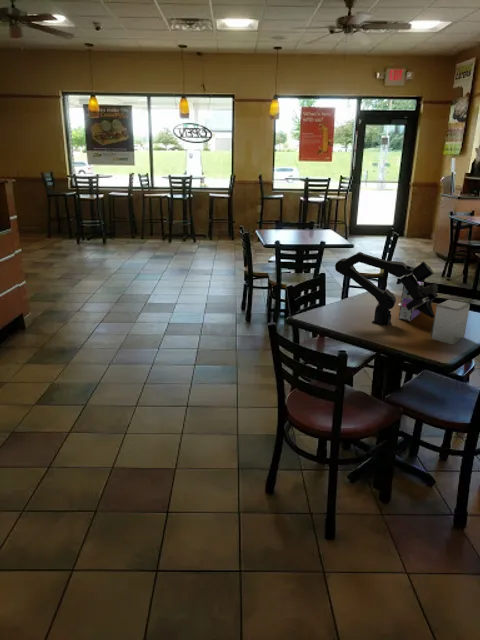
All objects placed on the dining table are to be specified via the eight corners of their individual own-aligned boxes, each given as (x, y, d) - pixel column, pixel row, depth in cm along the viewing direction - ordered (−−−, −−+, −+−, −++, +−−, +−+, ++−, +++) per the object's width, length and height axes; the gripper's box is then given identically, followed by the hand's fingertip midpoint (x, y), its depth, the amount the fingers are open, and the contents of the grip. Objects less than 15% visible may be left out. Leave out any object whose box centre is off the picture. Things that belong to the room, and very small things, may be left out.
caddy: (431, 338, 202) (437, 304, 197) (444, 332, 210) (449, 299, 205) (452, 344, 196) (458, 309, 191) (464, 337, 204) (470, 303, 199)
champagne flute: (402, 302, 253) (408, 257, 246) (414, 305, 248) (420, 259, 241) (395, 304, 249) (401, 259, 242) (407, 307, 244) (413, 261, 237)
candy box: (410, 321, 223) (415, 287, 218) (398, 319, 227) (402, 285, 221) (419, 314, 234) (424, 281, 228) (407, 312, 237) (412, 279, 232)
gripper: (417, 280, 197) (438, 312, 193) (437, 273, 210) (457, 303, 206) (397, 294, 205) (417, 325, 201) (417, 287, 218) (437, 316, 214)
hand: (433, 317), depth 205 cm, fingers closed
